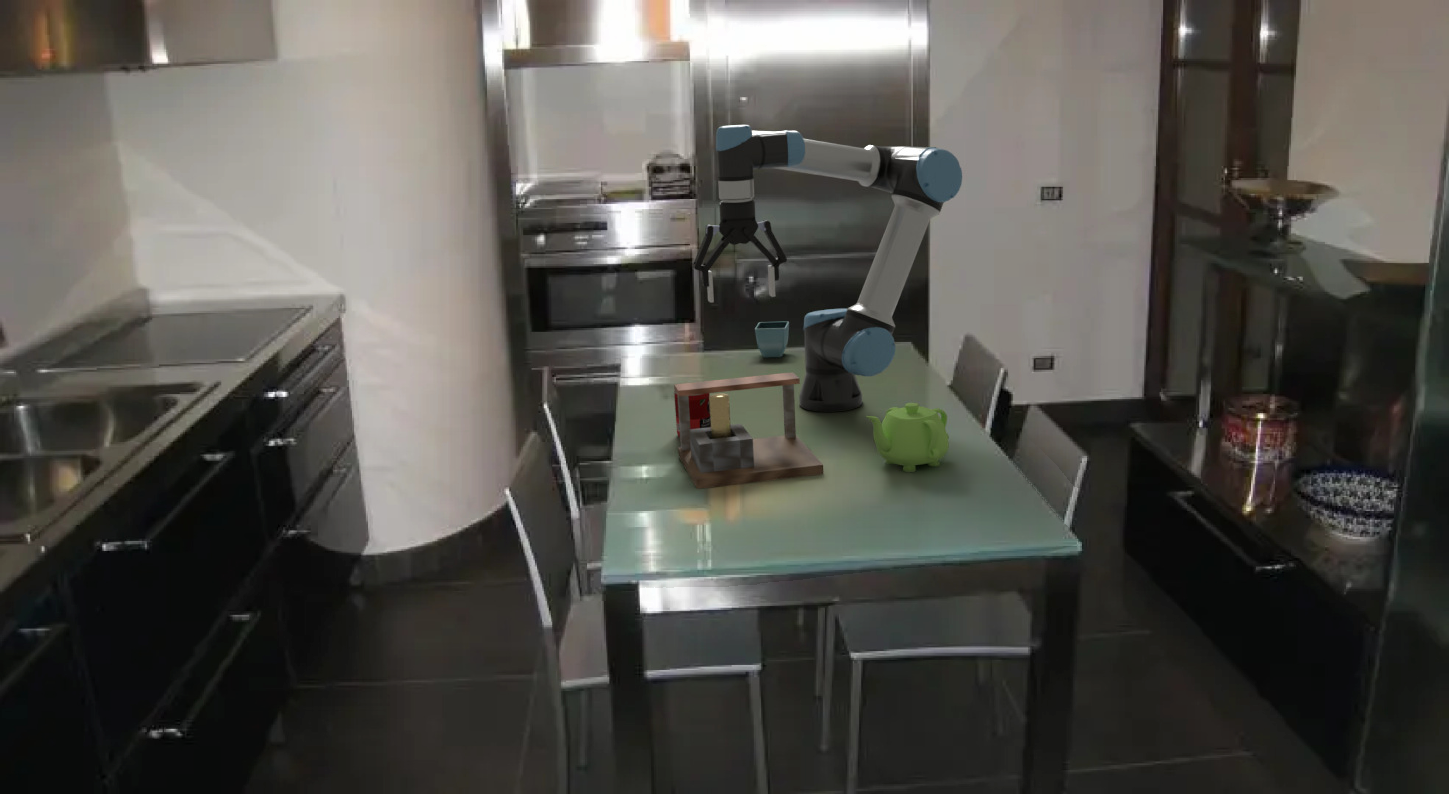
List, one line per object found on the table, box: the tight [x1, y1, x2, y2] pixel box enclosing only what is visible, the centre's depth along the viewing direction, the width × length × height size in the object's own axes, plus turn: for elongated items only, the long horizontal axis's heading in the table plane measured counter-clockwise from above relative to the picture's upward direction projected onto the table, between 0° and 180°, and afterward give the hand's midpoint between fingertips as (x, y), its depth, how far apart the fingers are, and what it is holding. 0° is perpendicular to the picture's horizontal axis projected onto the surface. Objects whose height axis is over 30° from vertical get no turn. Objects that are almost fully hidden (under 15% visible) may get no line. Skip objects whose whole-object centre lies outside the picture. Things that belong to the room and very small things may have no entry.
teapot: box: [866, 402, 950, 473], centre depth 250 cm, size 16×14×13 cm
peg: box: [709, 392, 732, 439], centre depth 252 cm, size 4×4×14 cm
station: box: [673, 371, 824, 490], centre depth 255 cm, size 26×22×16 cm
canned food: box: [673, 389, 711, 438], centre depth 278 cm, size 8×8×11 cm
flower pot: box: [754, 321, 790, 359], centre depth 348 cm, size 9×9×9 cm
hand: (741, 298), depth 266 cm, fingers open, 13 cm apart
